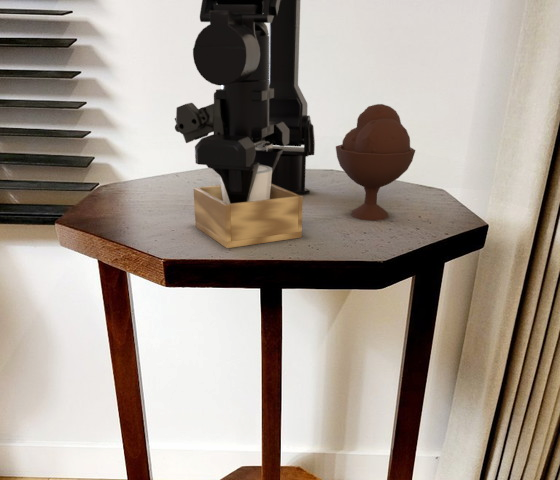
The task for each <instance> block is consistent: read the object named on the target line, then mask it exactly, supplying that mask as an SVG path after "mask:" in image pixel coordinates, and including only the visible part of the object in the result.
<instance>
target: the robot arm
mask: <svg viewBox="0 0 560 480" xmlns="http://www.w3.org/2000/svg"><path fill="white" fill-rule="evenodd" d="M199 20H200V22H201V23H209V24H208V25H207V26H205V27H203V28H202V29H201V30H200V32H199V33H198V34H197V36H196V39H195V41H194V45H193V49H192V57H193V63H194V66H195V67H196V70H197V72H198V74H199V75H200V76H201V77H202V78H203V79H204V80H205V81H207V82H208V83H210V84H212V85H216V86H221V88H217V89H215V91H214V92H213V103H211V104H209V105H206V106H203V107H200V108H198V107H197V106H196V105H195V104H194V102H188V103H185V104H182V105H180V106H177V107H176V109H175V110H176V111H175V117H174V121H175V125H174V130H175V131H176V132H177V133H180V134H181V135H182V136H183V139H184V142H185V143H186V144H188V143H190V142H191V143H192V142H194V141H197V140H198V142H197V143H196V144H195V145H194V157H195V158H194V159H195V160H194V161H195V164H196V165H200V166H201V165H202V166H206V167H207V168H208V169H212V170H213V171H214V172H215V173H216V174H217V175H218V176H219V177H220V176H221V178H222V181H223V183H224V186H225V189H226V192H227V195H228V198H229V201H230V204H232V203H240V202H248V200H249V197H250V194H251V190H252V187H253V184H254V180H255V177H256V174H257V170H258V167H259V165H265V166H269V167H271V168H272V178H271V183H272V184H274V185H276V186H279V187H281V188H283V189H286V190H288V191H291V192H293V193H295V194H298V195H304V194H310V192H311V190H310V189H309V188H306V169H307V157H309V156H314V155H315V152H316V151H315V150H316V149H315V148H316V147H315V146H316V142H315V141H316V140H315V129H314V127H315V126H314V125H313V124H312V119H311V115H308V102H307V100H306V98H305V96H304V94H303V92H302V90H301V88H300V86H299V66H300V65H299V62H300V34H301V33H300V29H301V27H300V26H301V0H201V6H200V12H199ZM267 24H269V30H268V26H267ZM211 133H213V134H211ZM209 134H210V135H209Z"/></svg>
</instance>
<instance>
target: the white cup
mask: <svg viewBox="0 0 560 480" xmlns="http://www.w3.org/2000/svg"><path fill="white" fill-rule="evenodd" d="M271 178H272V168H271V167H269V166H265V165H259V167H258V170H257V174H256V177H255V180H254V184H253V187H252V190H251V194H250V197H249V200H248V202H249V201H258V200H267V199H270V189H271ZM219 180H220V181H219V182H220V185H221V189H222V198H223V201H224V202H225V203H227V204H230V201H229V198H228V195H227V192H226V189H225V186H224V183H223V181H222V178H221V176H220V175H219Z"/></svg>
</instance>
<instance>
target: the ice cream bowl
mask: <svg viewBox="0 0 560 480" xmlns="http://www.w3.org/2000/svg"><path fill="white" fill-rule="evenodd" d="M335 152H336V159H337V161H338V163H339V166H340V168H341V169H342V170H343V172H344V173H345V174H346V175H347V177H349V179H351V181H353V182H354V183H355V184H357V185H359V186H361V187H363V189H364V192H365V193H364V203H362V204H361V205H359V206H357V207H355V208H354V209H352V210H351V213H350V215H351V217H352V218H355V219H358V220H362V221H383V220H386V219H387V218H389V213H388V211H386V209H384V208H383V207H381V206H380V205H379V204H378V203H377V202H378V193H379V190H380V189H381V188H383V187H385V186H387V185H389V184H391V183H393V182H395V181H396V180H398V179H399V178H400V177H402V175H404V173H405V172H407V171H408V170H409V168H410V166H411V164H412V163H413V160H414V156H415V153H416V149H414V148H413V147H411V138H410V135H409V133H408V130H407V129H406V128H405V127H404V125H403V124H402V121H401V118H400V115H399V114H398V111H396V110H395V109H394V108H393V107H391V106H389V105H386V104H383V103H377V104H372V105H368V106H367V107H366V108H365V109H364V110H363V111H362V112H361V113H360V114H359V115H358V117H357V119H356V127H354V128H351V130H349V131H348V132H347V133H346V134H345V135H344V138H343V140H342V144H339V145H336V146H335Z"/></svg>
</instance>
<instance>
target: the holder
mask: <svg viewBox="0 0 560 480" xmlns="http://www.w3.org/2000/svg"><path fill="white" fill-rule="evenodd" d="M192 189H193V204H194V206H193V207H194V221H195V223H194V224H195V228H197V230H200V231H201V232H202V233H204V234H206V235H207V236H208V237H210V238H211V239H213V240H214V241H215V242H217V243H218V244H220V245H222V246H223V247H225V248H226V249H231V248H239V247H245V246H254V245H259V244H266V243H267V244H268V243H273V242H280V241H288V240H294V239H300V238H301V239H302V237H303V209H304V208H303V206H304V203H303V202H304V196H303V195H301V194H295V193H293V192H291V191H288V190H286V189H283V188H281V187H279V186H276V185H274V184H272V183H271V189H270V199H267V200H258V201H249V202H240V203H232V204H227V203H225V202H224V201H223V198H222V189H221V184H217V185H207V186H206V185H205V186H198V187H197V186H196V187H193V188H192Z"/></svg>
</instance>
